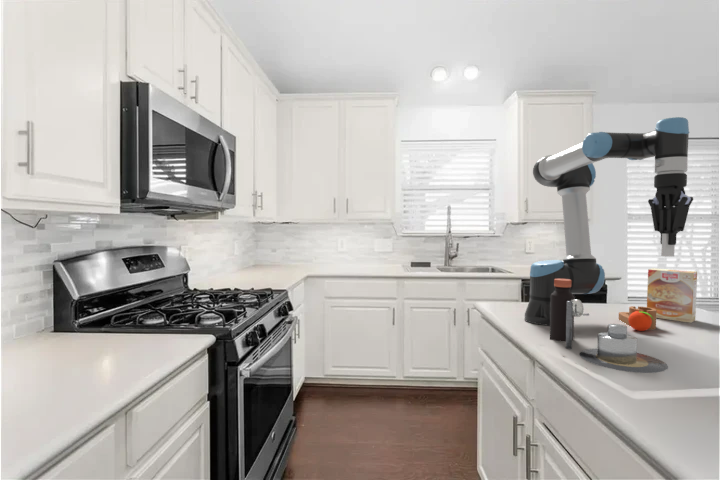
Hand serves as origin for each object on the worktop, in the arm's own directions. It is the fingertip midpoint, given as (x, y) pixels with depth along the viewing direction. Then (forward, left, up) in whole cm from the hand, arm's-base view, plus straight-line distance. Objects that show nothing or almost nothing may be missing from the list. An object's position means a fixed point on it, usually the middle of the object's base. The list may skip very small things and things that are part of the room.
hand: (667, 256), depth 120 cm
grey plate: (+7, -19, -28) cm, 35 cm away
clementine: (-25, +14, -29) cm, 40 cm away
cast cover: (+7, -20, -27) cm, 34 cm away
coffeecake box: (-42, +41, -29) cm, 65 cm away
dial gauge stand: (-4, -25, -28) cm, 38 cm away
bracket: (-35, +20, -29) cm, 50 cm away
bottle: (-14, -23, -29) cm, 39 cm away
